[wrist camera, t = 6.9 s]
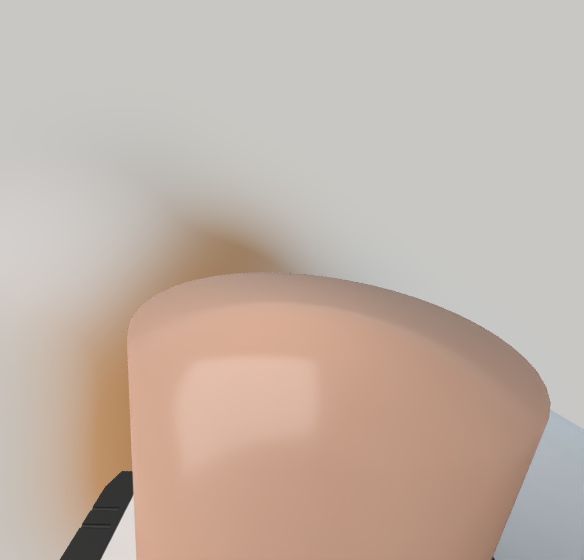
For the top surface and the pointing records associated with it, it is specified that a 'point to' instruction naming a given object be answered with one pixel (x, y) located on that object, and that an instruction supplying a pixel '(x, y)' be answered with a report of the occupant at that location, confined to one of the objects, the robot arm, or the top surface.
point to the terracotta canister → (323, 423)
